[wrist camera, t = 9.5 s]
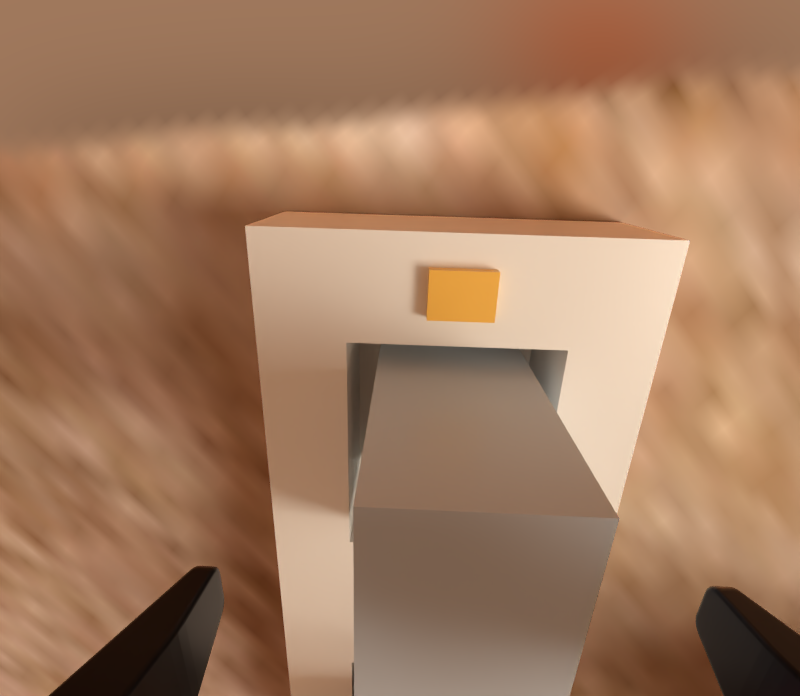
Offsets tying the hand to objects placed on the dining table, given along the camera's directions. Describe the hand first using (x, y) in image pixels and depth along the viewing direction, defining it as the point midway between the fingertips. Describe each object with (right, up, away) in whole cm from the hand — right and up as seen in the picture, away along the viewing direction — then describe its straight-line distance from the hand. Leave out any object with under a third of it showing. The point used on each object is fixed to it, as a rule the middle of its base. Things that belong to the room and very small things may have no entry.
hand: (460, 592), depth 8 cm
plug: (0, +3, +7) cm, 7 cm away
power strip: (0, -3, +10) cm, 10 cm away
